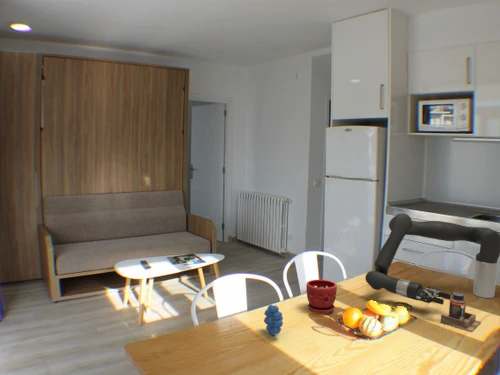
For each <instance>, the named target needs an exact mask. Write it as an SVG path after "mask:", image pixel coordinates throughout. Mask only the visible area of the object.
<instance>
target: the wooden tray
mask: <svg viewBox="0 0 500 375" xmlns="http://www.w3.org/2000/svg"><path fill="white" fill-rule="evenodd" d="M476 317H477V315H476V314H473V313H470V312H467V311H465V320H464V321H463V320H459V319H456V318H452V317H449V314H447V315H445V314H441V315H440V322H439V323H440V324H444V325H447V326H448V327H449V326H450V327H454V328H455V329H459V330H463V331H466V332H469V333H473V332H474V331H475V330H476V329H477V328H478V327H479V326H480V325H481V323H482V322H481V321H479V320H476Z"/></svg>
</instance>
